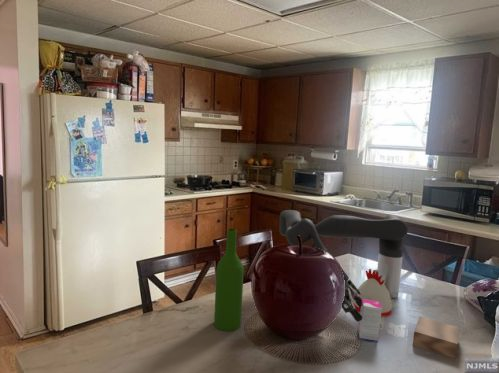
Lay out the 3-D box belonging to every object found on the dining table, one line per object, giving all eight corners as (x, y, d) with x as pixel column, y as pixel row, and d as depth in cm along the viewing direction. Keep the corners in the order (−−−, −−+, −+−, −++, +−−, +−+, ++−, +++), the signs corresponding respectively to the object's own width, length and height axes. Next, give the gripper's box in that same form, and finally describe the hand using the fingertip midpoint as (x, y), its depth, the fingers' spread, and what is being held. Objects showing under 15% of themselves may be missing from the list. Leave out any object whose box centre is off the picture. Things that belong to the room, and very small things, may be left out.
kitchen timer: (369, 297, 150) (372, 262, 148) (398, 311, 139) (403, 273, 137) (345, 304, 143) (348, 267, 141) (375, 320, 131) (379, 280, 129)
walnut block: (412, 346, 116) (414, 331, 116) (417, 330, 127) (419, 316, 126) (455, 359, 110) (457, 344, 110) (457, 341, 120) (459, 327, 120)
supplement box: (378, 342, 117) (382, 308, 115) (359, 339, 118) (362, 305, 116) (376, 333, 122) (379, 300, 121) (357, 330, 123) (360, 298, 122)
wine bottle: (245, 321, 125) (250, 228, 121) (233, 334, 117) (238, 234, 113) (222, 315, 129) (226, 224, 125) (209, 326, 121) (212, 230, 117)
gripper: (328, 272, 131) (358, 311, 127) (316, 285, 118) (348, 329, 115) (345, 261, 128) (375, 300, 124) (334, 273, 115) (368, 318, 112)
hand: (362, 314), depth 119 cm, fingers open, 8 cm apart
